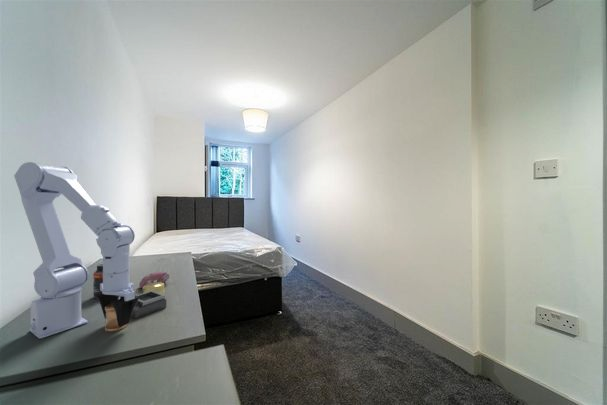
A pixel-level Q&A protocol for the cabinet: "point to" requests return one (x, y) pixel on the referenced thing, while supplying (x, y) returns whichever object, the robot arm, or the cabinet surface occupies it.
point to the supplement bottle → (97, 279)
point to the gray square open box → (148, 304)
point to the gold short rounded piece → (154, 287)
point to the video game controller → (154, 278)
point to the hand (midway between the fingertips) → (116, 321)
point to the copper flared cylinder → (112, 319)
